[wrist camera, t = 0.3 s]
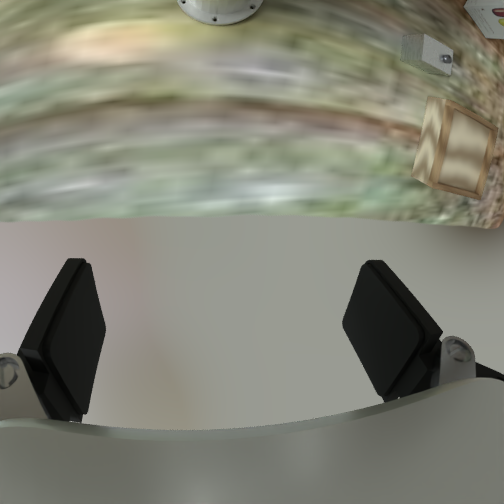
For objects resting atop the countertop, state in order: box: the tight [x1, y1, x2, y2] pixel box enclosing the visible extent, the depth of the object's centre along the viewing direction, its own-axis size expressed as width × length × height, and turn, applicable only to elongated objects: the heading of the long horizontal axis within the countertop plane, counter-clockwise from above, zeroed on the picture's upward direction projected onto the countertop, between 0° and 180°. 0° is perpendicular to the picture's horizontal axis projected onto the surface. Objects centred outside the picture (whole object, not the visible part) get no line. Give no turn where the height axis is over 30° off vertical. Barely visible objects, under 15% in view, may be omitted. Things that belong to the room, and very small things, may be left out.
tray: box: [411, 96, 498, 200], centre depth 44 cm, size 16×16×6 cm
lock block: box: [400, 34, 453, 76], centre depth 34 cm, size 5×7×7 cm
